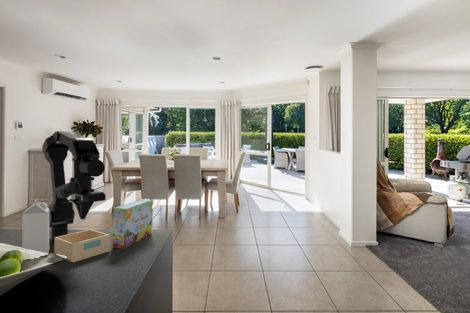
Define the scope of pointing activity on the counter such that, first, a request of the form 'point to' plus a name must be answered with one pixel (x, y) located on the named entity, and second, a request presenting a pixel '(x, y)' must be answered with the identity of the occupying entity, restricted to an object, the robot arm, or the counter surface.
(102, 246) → the front flap
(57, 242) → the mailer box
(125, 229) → the snack box
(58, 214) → the robot arm
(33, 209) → the milk carton
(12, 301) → the counter surface
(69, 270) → the counter surface
